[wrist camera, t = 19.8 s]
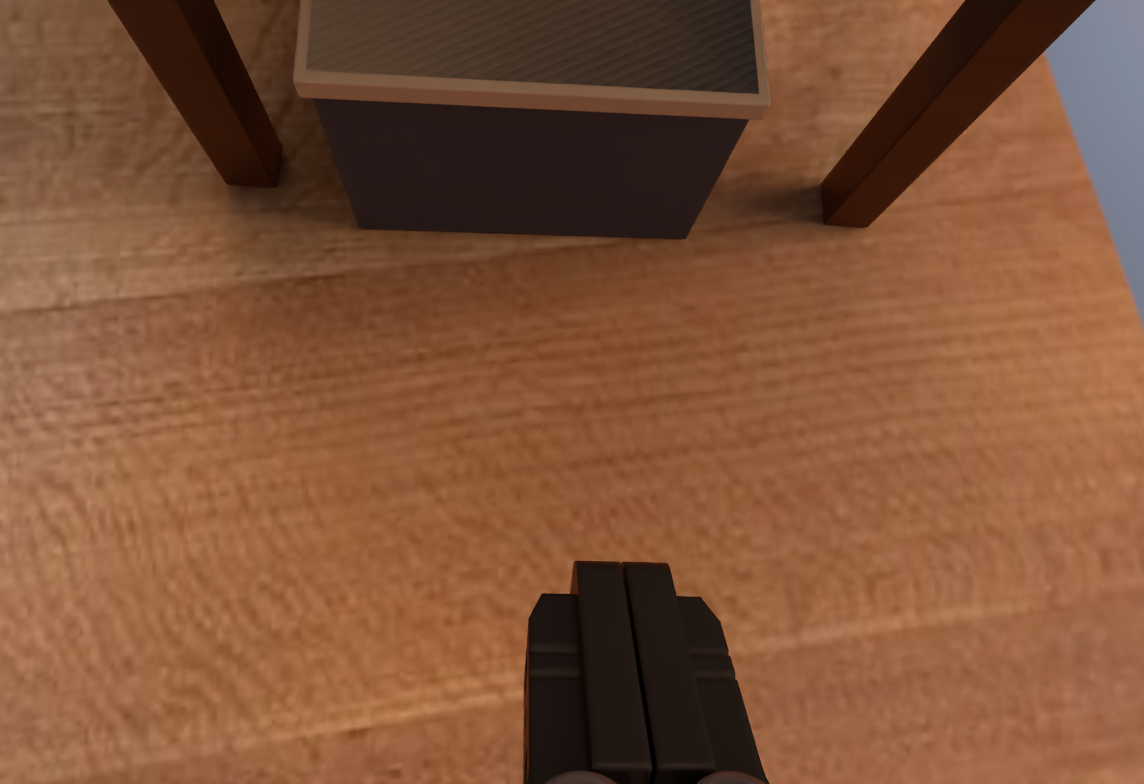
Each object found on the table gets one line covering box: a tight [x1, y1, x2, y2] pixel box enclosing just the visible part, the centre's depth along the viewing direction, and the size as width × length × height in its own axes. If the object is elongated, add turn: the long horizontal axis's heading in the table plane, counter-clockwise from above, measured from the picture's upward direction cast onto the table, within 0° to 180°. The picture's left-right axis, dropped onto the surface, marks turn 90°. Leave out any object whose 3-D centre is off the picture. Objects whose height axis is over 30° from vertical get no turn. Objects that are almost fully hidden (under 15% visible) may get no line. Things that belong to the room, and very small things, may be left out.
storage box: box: [292, 0, 770, 239], centre depth 21 cm, size 10×10×7 cm
